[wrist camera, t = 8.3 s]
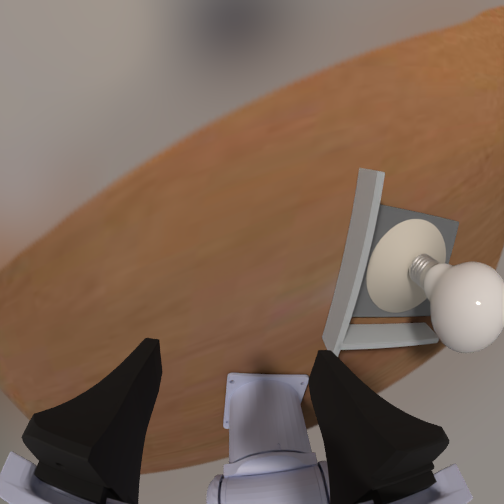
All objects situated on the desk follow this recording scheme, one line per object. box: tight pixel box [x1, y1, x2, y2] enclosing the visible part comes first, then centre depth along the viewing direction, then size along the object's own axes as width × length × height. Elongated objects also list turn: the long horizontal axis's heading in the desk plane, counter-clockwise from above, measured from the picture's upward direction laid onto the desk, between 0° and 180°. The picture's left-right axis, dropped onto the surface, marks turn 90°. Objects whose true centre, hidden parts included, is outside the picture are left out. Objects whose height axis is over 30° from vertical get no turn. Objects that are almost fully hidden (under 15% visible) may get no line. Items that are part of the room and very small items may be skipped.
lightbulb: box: [409, 254, 504, 353], centre depth 17 cm, size 6×6×11 cm
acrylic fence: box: [322, 168, 439, 357], centre depth 21 cm, size 15×12×3 cm
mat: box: [352, 205, 459, 317], centre depth 22 cm, size 10×10×1 cm
